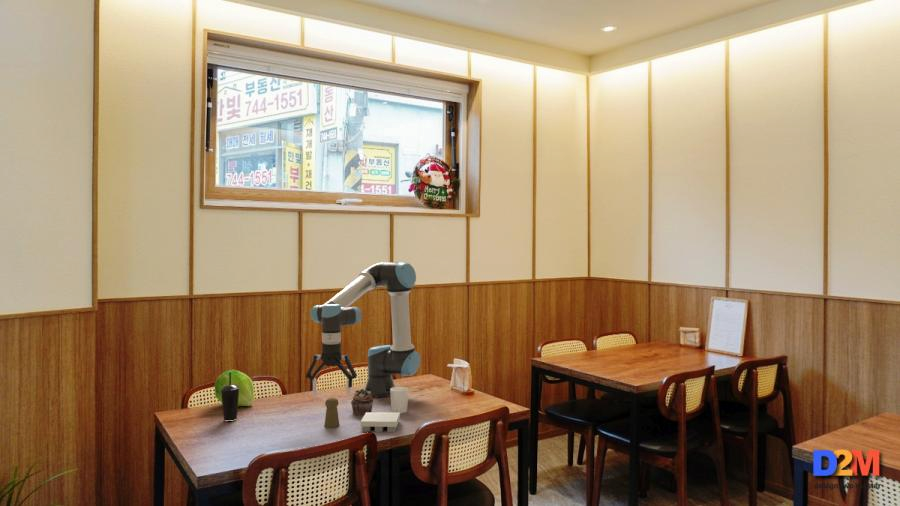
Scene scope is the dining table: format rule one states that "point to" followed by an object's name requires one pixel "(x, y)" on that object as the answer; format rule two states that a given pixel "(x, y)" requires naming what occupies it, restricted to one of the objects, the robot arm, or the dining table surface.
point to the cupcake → (362, 402)
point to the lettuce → (240, 380)
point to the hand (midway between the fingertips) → (331, 395)
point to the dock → (380, 421)
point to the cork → (331, 413)
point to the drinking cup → (230, 400)
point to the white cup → (399, 399)
